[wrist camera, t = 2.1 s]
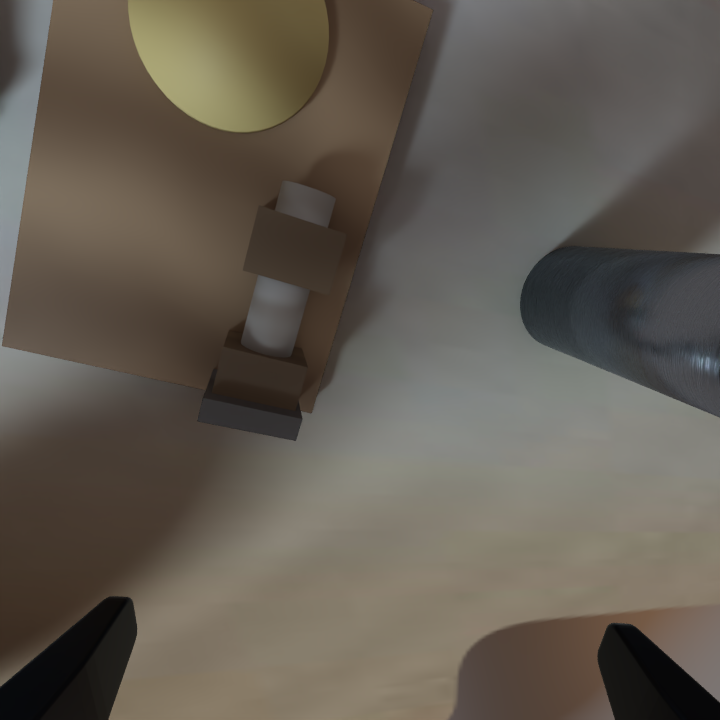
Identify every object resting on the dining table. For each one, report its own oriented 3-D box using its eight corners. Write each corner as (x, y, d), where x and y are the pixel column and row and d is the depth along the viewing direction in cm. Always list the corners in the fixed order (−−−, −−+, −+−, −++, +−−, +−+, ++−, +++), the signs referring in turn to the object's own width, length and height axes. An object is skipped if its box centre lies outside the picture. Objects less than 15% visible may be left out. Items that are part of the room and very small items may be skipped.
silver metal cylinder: (587, 358, 22) (829, 454, 13) (505, 333, 21) (704, 420, 11) (627, 263, 21) (920, 291, 12) (543, 232, 20) (795, 236, 11)
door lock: (308, 402, 20) (320, 448, 16) (19, 338, 17) (-60, 373, 13) (421, 24, 17) (473, -42, 13) (92, -132, 14) (20, -285, 10)
